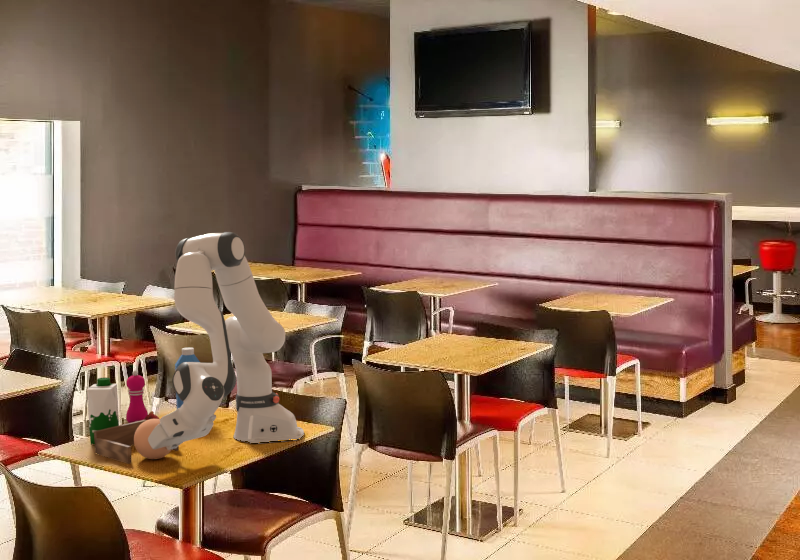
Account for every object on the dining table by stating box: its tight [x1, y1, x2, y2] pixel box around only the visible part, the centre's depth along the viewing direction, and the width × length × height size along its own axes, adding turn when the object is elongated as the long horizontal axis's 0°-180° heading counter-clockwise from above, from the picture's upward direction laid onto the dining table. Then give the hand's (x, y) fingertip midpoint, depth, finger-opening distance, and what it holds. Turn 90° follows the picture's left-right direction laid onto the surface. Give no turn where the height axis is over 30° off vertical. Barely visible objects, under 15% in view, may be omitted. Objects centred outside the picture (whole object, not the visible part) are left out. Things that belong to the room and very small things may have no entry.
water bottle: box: [174, 347, 201, 409], centre depth 357 cm, size 9×9×25 cm
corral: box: [94, 420, 180, 464], centre depth 319 cm, size 17×18×7 cm
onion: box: [144, 410, 160, 420], centre depth 338 cm, size 6×6×8 cm
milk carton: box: [86, 377, 120, 445], centre depth 331 cm, size 9×9×20 cm
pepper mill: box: [125, 370, 149, 423], centre depth 345 cm, size 7×7×20 cm
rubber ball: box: [133, 418, 173, 460], centre depth 311 cm, size 12×12×12 cm
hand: (170, 447), depth 308 cm, fingers closed
